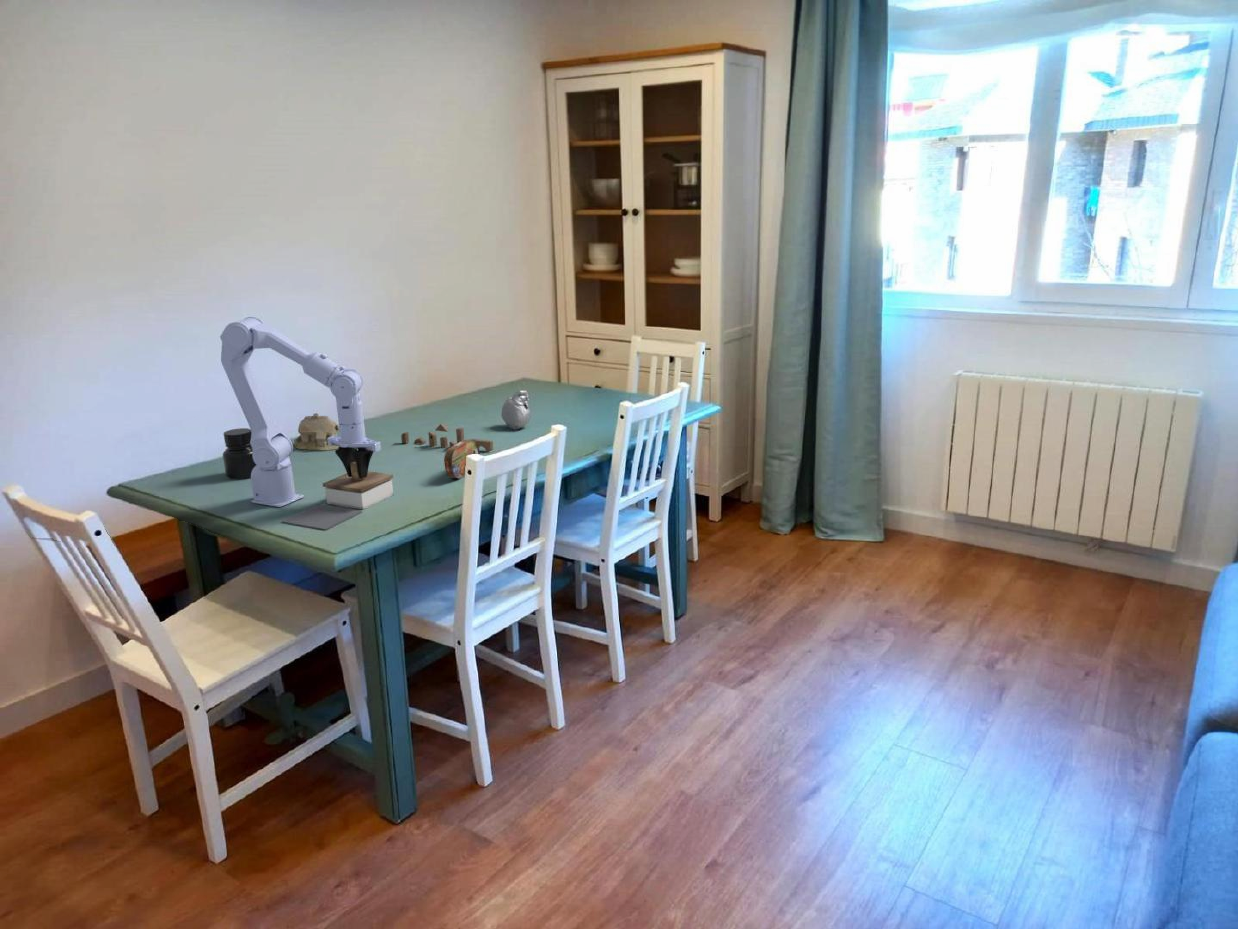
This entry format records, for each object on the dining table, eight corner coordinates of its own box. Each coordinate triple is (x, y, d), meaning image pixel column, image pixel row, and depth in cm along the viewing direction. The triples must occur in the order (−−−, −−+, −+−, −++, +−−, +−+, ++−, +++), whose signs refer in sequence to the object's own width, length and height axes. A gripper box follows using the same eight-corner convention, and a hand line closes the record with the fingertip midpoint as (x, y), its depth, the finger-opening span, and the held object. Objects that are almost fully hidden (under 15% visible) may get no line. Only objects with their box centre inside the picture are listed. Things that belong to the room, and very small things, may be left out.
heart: (498, 423, 275) (496, 388, 269) (527, 419, 277) (526, 385, 272) (504, 436, 266) (502, 400, 261) (534, 433, 269) (533, 397, 263)
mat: (281, 522, 196) (281, 521, 196) (319, 505, 206) (319, 504, 206) (325, 530, 191) (325, 529, 191) (362, 512, 201) (362, 511, 201)
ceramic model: (349, 441, 261) (345, 408, 258) (335, 451, 250) (331, 418, 247) (304, 441, 262) (299, 409, 259) (288, 452, 251) (283, 418, 248)
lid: (323, 489, 206) (320, 467, 204) (356, 474, 216) (353, 454, 214) (361, 495, 201) (358, 473, 200) (393, 480, 211) (391, 459, 210)
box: (327, 503, 207) (325, 488, 206) (358, 489, 217) (356, 474, 216) (363, 509, 203) (361, 493, 202) (393, 494, 212) (391, 479, 211)
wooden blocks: (495, 451, 248) (494, 426, 246) (490, 454, 246) (489, 429, 243) (407, 441, 259) (405, 417, 256) (401, 444, 256) (399, 419, 254)
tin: (454, 483, 220) (451, 451, 218) (443, 482, 221) (440, 450, 219) (481, 465, 234) (479, 435, 231) (471, 464, 235) (469, 434, 232)
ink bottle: (270, 470, 234) (264, 428, 230) (249, 481, 225) (241, 437, 222) (240, 468, 236) (233, 426, 232) (217, 478, 228) (210, 435, 224)
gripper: (315, 423, 203) (322, 478, 208) (364, 429, 198) (370, 485, 202) (336, 416, 210) (343, 469, 214) (384, 421, 204) (390, 476, 208)
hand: (357, 476), depth 208 cm, fingers closed on lid, 3 cm apart
